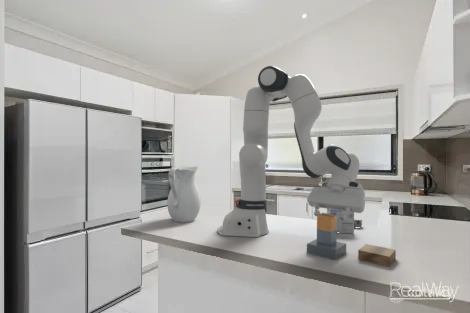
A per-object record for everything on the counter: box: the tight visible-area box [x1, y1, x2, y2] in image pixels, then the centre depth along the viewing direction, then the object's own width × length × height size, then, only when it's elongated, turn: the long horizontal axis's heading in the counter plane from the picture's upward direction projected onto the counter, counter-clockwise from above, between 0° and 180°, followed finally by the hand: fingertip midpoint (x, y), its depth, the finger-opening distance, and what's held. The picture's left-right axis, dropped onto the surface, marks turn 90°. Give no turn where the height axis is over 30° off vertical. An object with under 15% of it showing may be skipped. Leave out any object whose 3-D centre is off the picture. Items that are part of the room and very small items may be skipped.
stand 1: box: [306, 238, 347, 260], centre depth 96 cm, size 10×10×3 cm
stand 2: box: [357, 243, 397, 267], centre depth 90 cm, size 9×9×3 cm
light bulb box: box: [326, 208, 355, 234], centre depth 126 cm, size 11×7×11 cm, turn 84°
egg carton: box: [354, 219, 363, 228], centre depth 137 cm, size 11×8×4 cm
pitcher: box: [166, 165, 202, 223], centre depth 140 cm, size 24×17×28 cm
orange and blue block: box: [316, 212, 338, 247], centre depth 96 cm, size 5×5×10 cm
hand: (328, 217), depth 98 cm, fingers open, 8 cm apart
